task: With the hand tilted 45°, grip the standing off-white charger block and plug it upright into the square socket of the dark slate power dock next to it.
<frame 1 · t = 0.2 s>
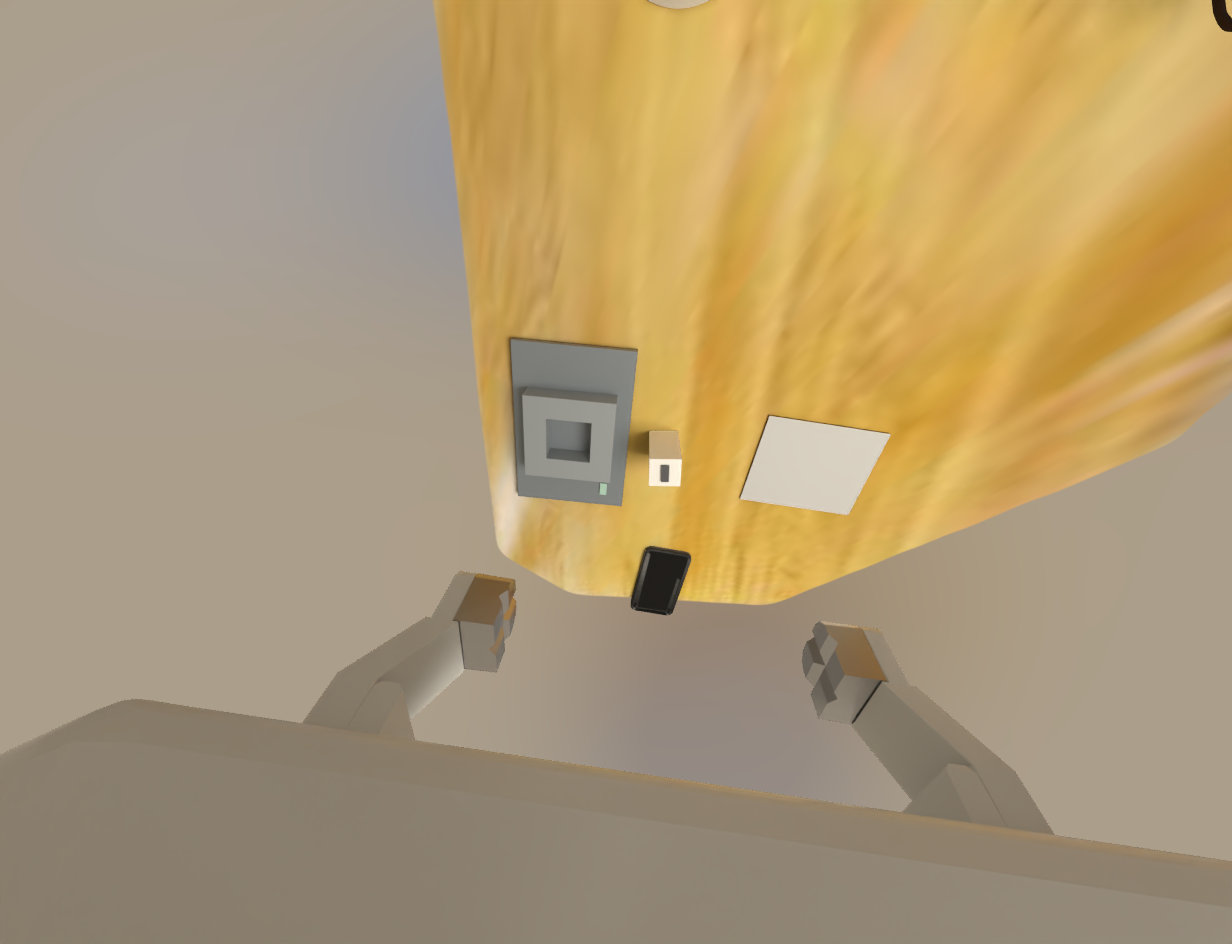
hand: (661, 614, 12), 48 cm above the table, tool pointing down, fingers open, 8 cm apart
power dock: (572, 428, 63), on the table
phone: (659, 578, 78), on the table
charger: (663, 443, 63), on the table
paper stack: (770, 487, 66), on the table
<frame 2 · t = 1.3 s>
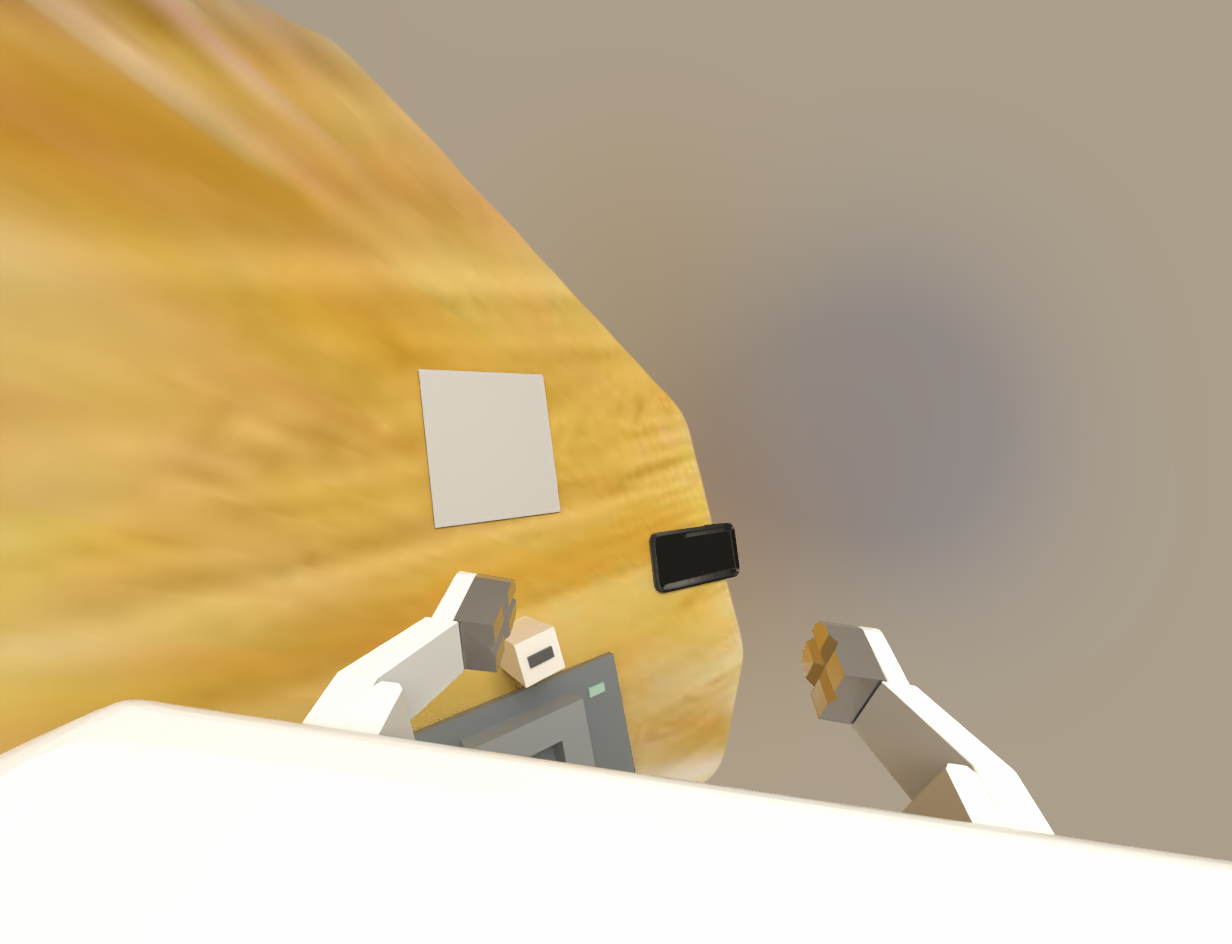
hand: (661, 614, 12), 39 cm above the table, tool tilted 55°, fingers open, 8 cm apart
power dock: (526, 768, 46), on the table
phone: (692, 555, 62), on the table
charger: (513, 640, 48), on the table
paper stack: (535, 478, 52), on the table
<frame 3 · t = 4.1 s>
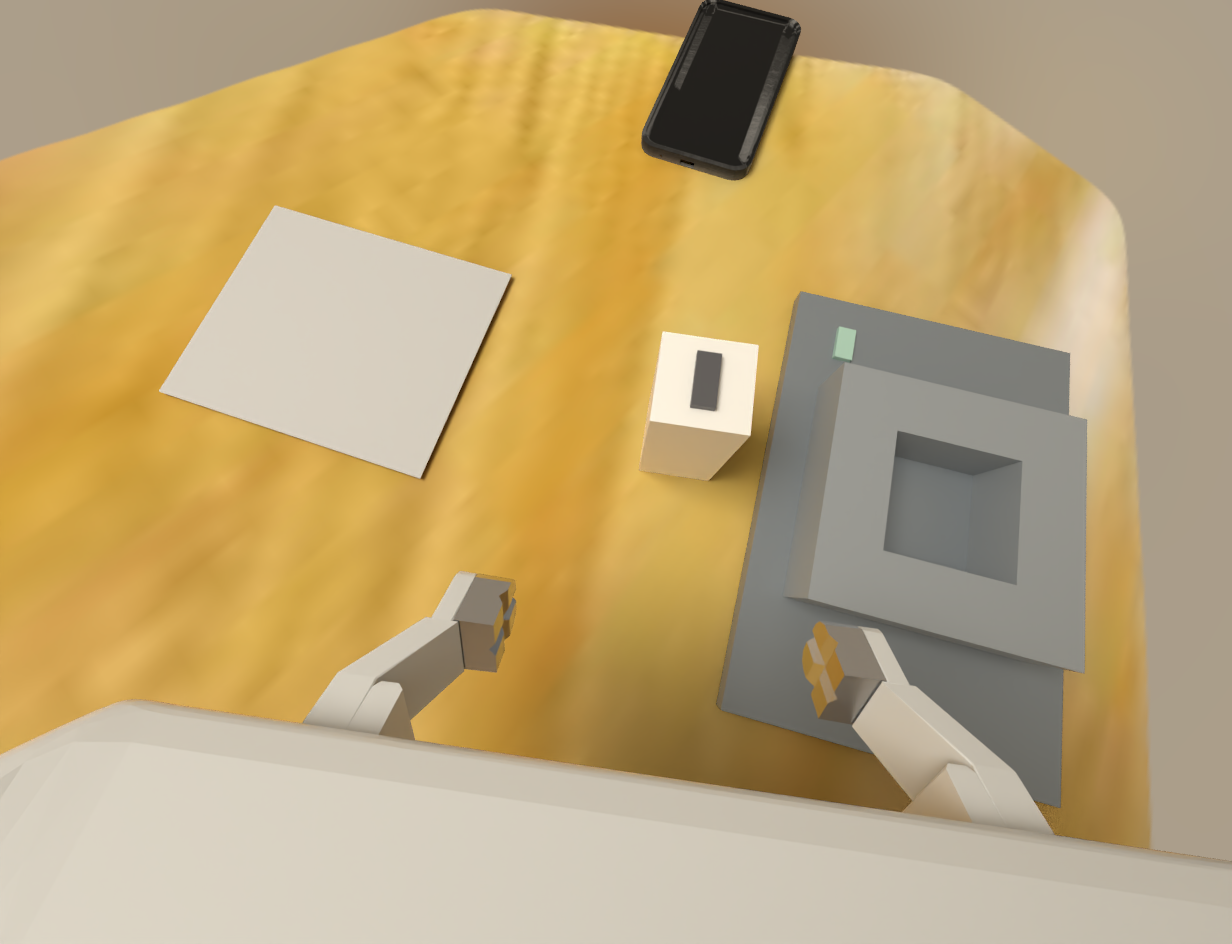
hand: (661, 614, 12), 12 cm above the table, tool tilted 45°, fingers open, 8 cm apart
power dock: (900, 516, 25), on the table
phone: (719, 98, 33), on the table
charger: (677, 442, 26), on the table
paper stack: (441, 294, 29), on the table
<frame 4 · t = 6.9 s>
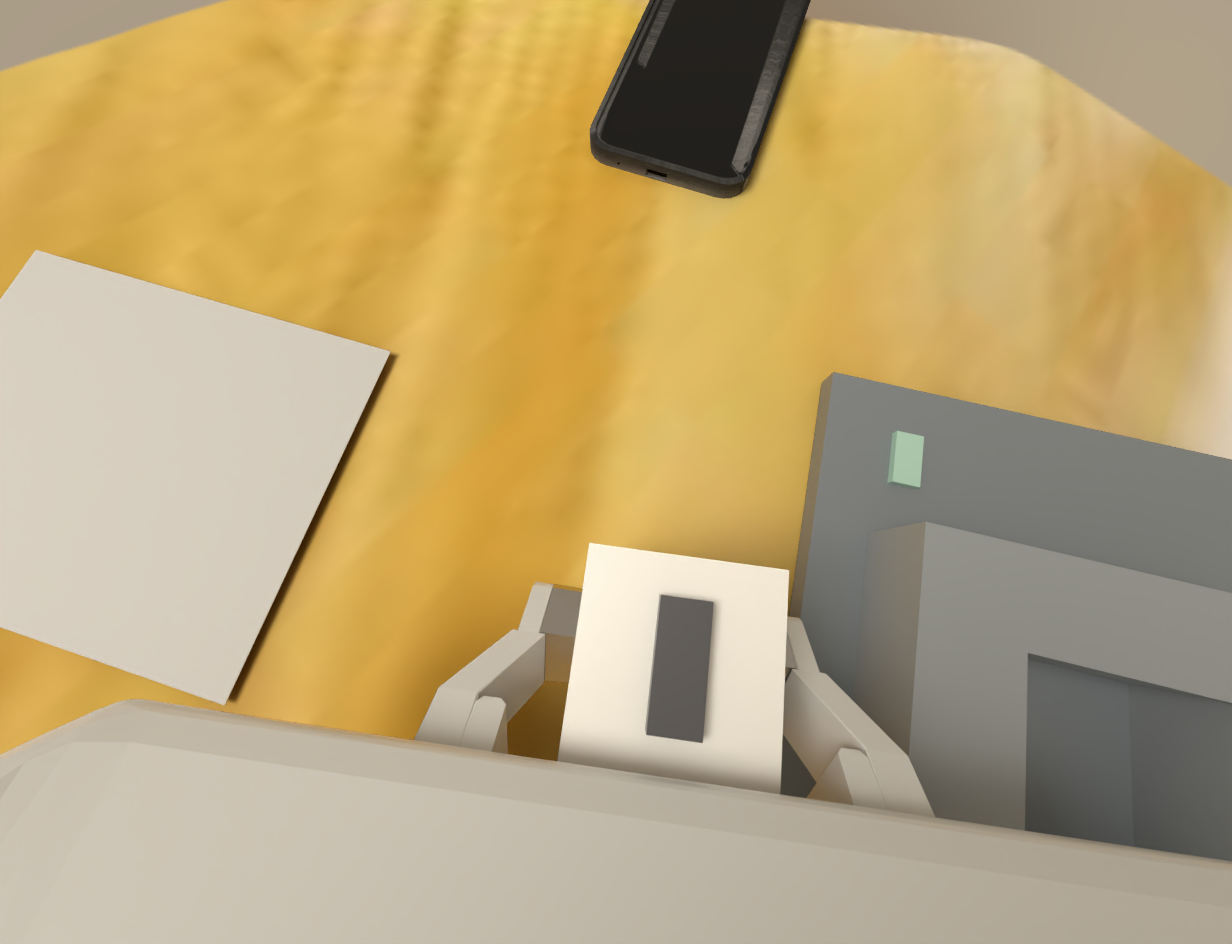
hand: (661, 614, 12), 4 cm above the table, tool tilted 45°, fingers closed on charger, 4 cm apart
power dock: (1009, 746, 15), on the table
phone: (702, 80, 23), on the table
charger: (646, 623, 16), on the table, touching gripper
paper stack: (288, 381, 19), on the table
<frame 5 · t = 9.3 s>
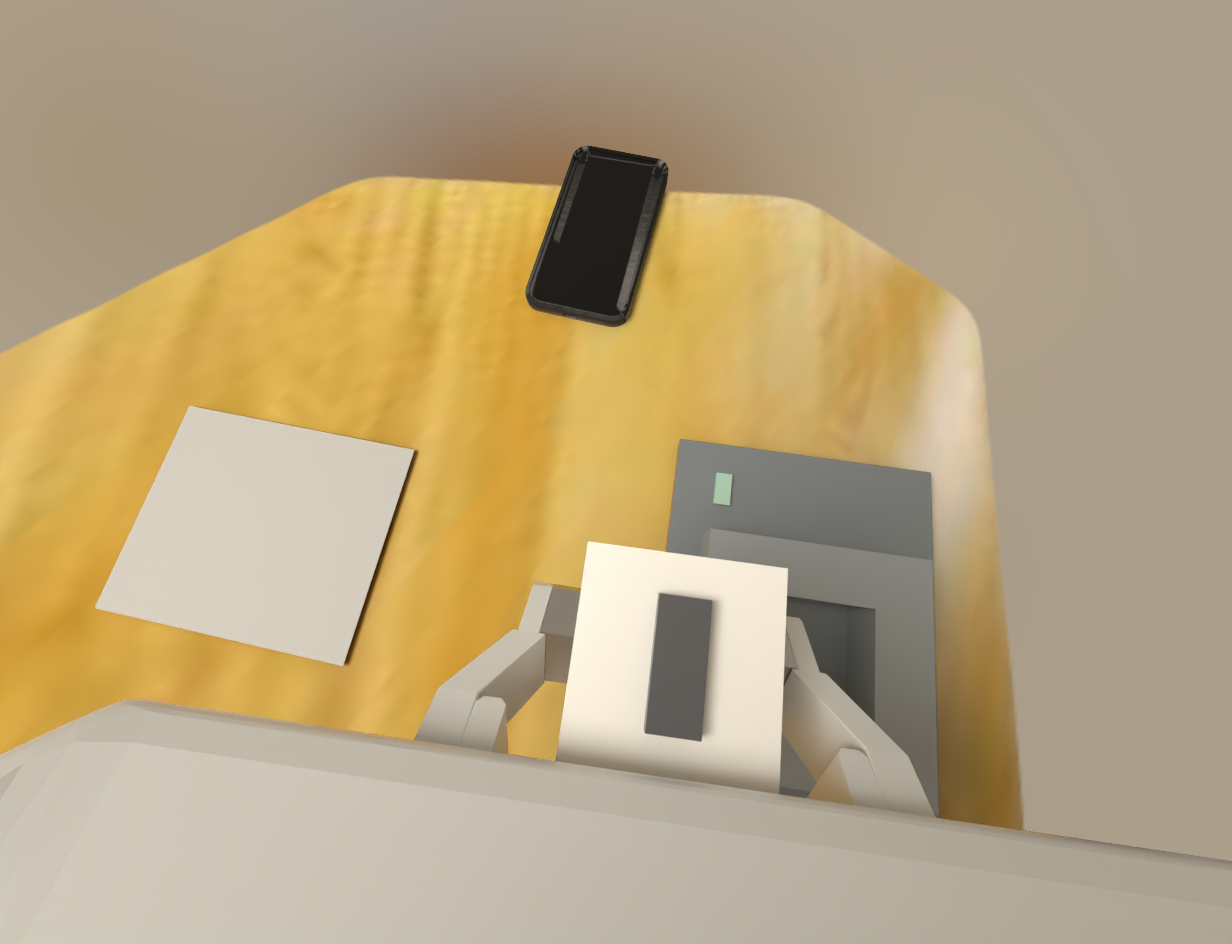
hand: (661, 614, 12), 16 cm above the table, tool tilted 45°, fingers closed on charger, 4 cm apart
power dock: (788, 649, 27), on the table
phone: (599, 241, 35), on the table
charger: (646, 622, 16), point 12 cm above the table, touching gripper
paper stack: (352, 472, 31), on the table
when the fingers open (6 cm above the table, at t = 12.0 s): charger stays where it is, resting on power dock.
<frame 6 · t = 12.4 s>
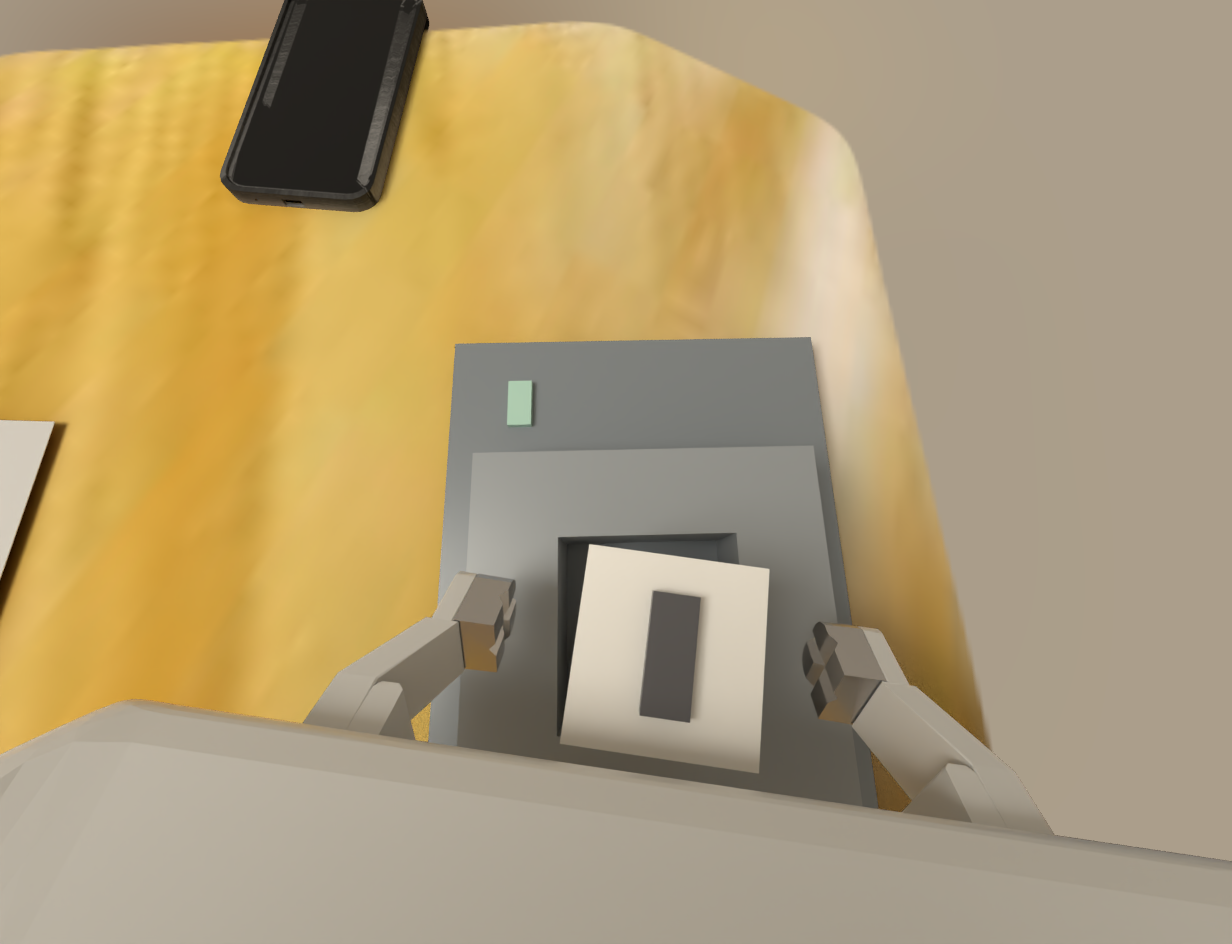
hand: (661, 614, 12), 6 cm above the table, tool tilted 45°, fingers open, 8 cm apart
power dock: (643, 618, 18), on the table
phone: (340, 106, 25), on the table
charger: (643, 619, 17), point 1 cm above the table, touching power dock
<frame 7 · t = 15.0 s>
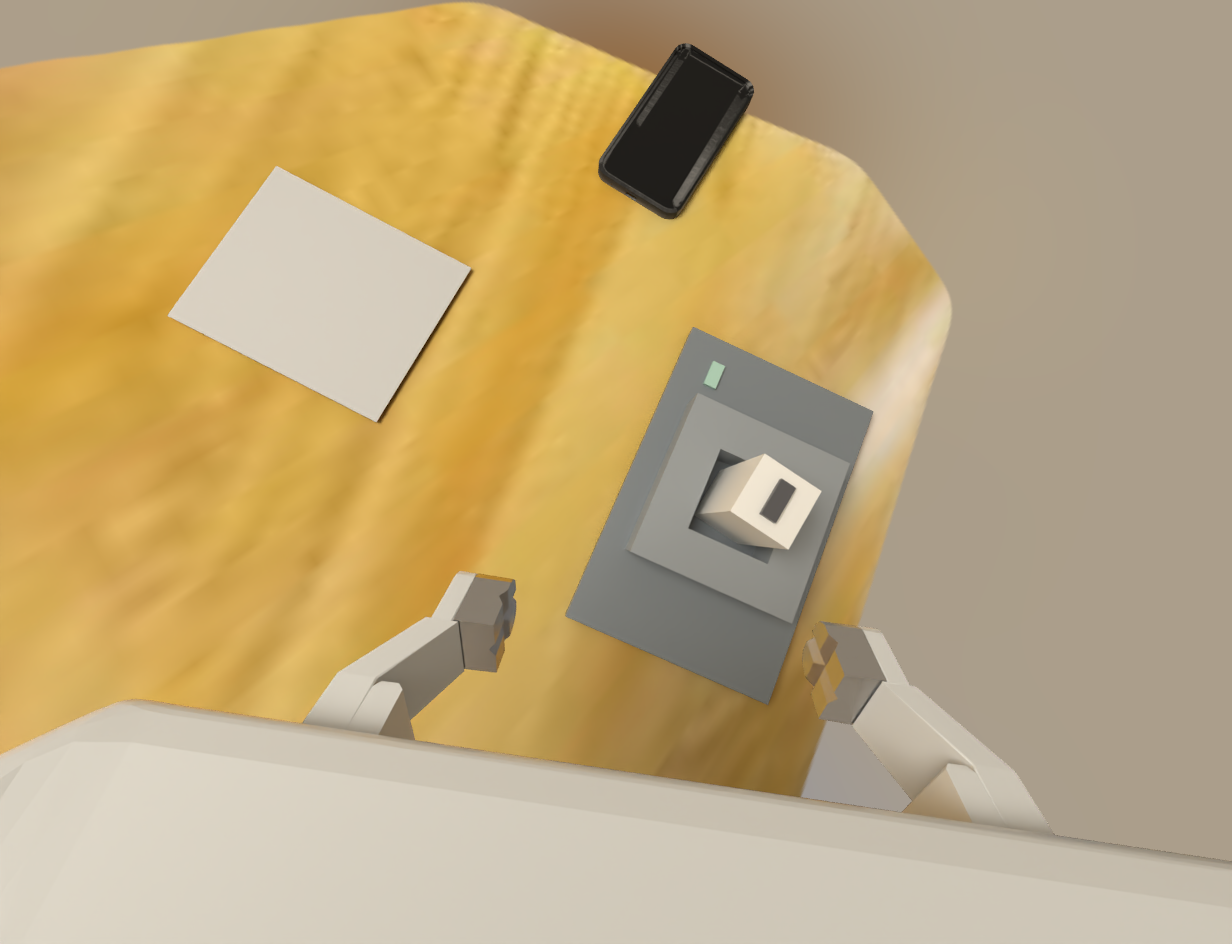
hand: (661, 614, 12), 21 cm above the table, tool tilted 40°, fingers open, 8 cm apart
power dock: (724, 508, 34), on the table
phone: (674, 138, 39), on the table
charger: (728, 506, 33), point 1 cm above the table, touching power dock
paper stack: (411, 272, 35), on the table
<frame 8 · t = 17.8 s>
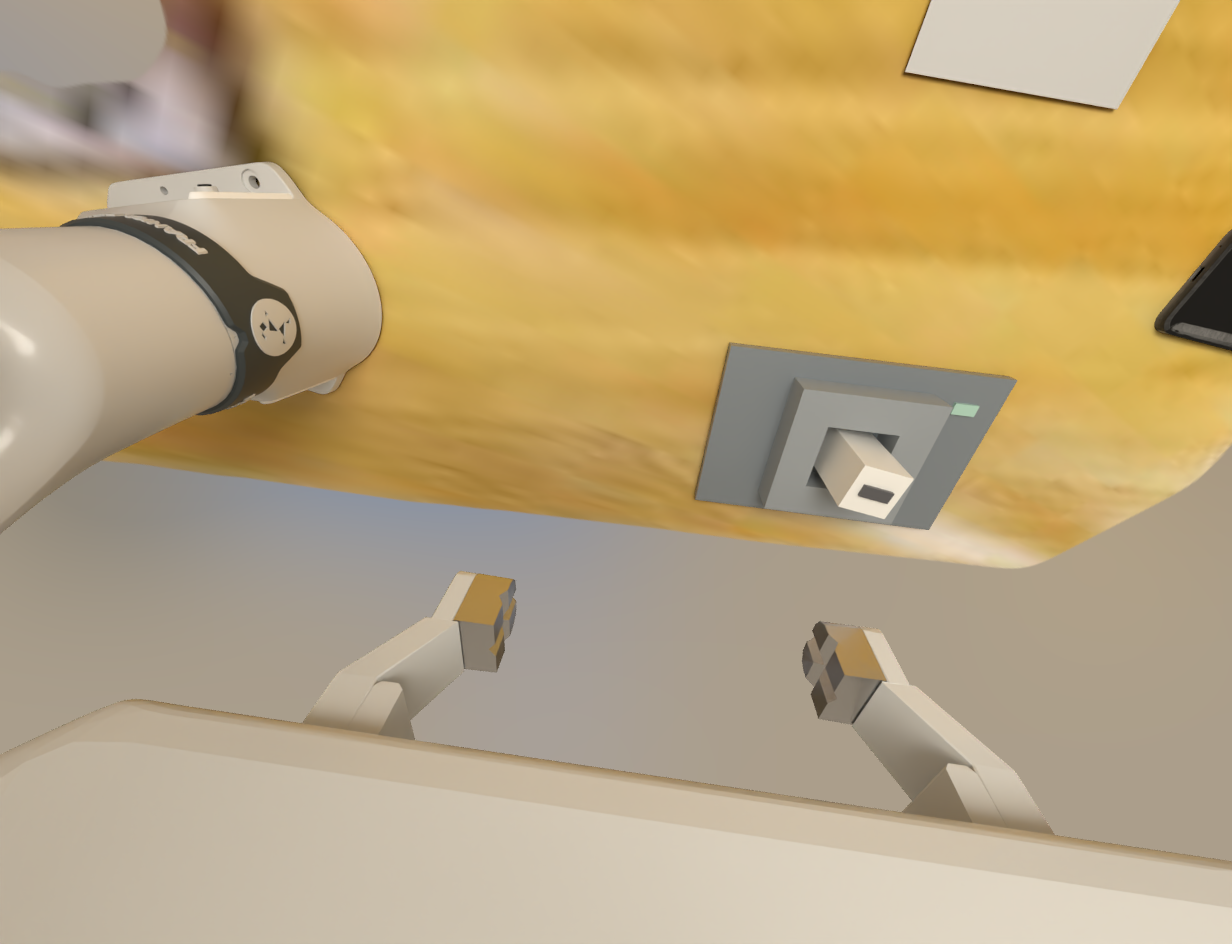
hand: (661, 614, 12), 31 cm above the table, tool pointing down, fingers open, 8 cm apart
power dock: (835, 441, 42), on the table
charger: (839, 446, 41), point 1 cm above the table, touching power dock
paper stack: (1118, 18, 27), on the table
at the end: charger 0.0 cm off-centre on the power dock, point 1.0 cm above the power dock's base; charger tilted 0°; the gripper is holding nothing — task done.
